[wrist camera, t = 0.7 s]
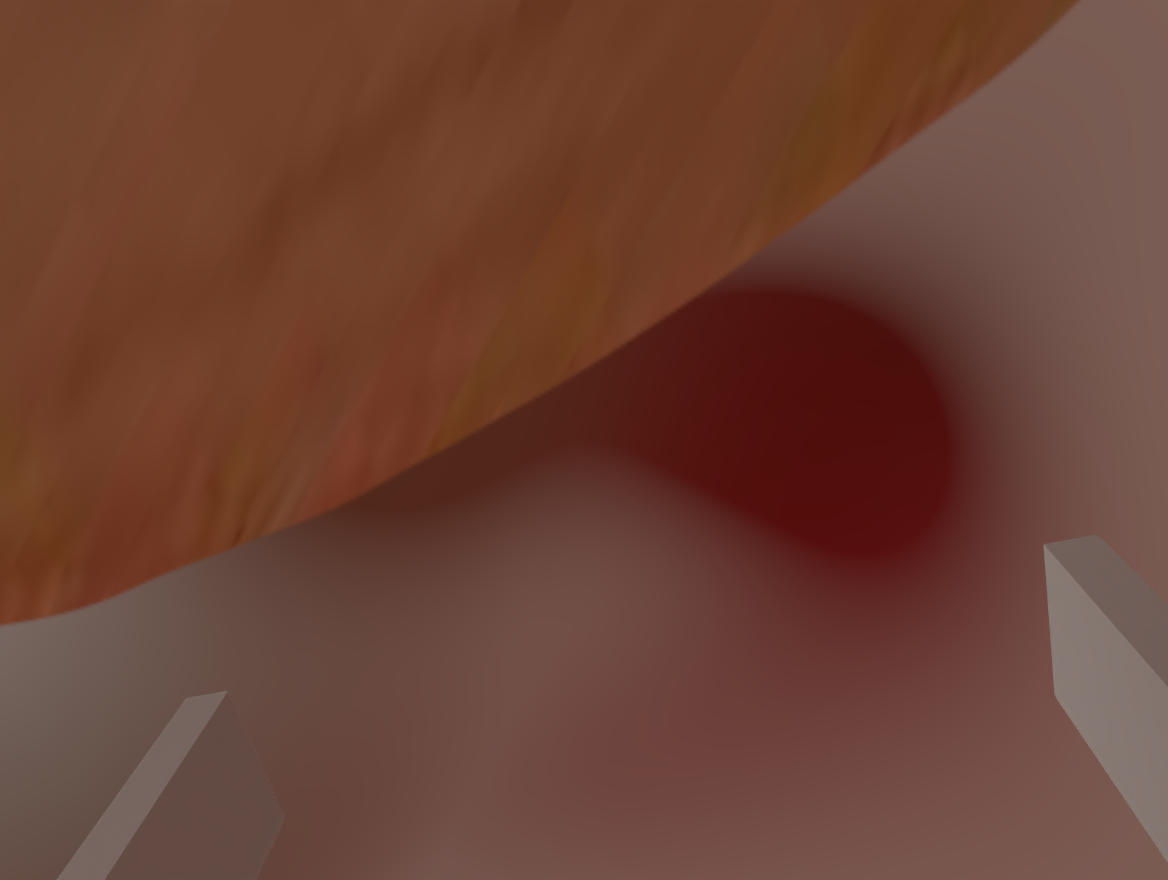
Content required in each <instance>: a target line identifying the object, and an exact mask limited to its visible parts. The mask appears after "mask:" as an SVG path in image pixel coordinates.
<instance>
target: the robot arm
mask: <svg viewBox="0 0 1168 880" xmlns="http://www.w3.org/2000/svg"><path fill="white" fill-rule="evenodd" d="M1044 556H1045V568H1046V582H1047V596H1048V609H1049V623H1050V636H1051V649H1052V650H1051V651H1052V664H1053V678H1054V691H1055V697H1056V698H1057V699H1058V701H1059V703H1060V704H1061V705H1062V707H1063V708H1064V710H1065V711H1066V713H1067V714H1068V716H1069V717H1070V719H1071V720H1072V722H1073V723H1074V725H1075V726H1076V728H1077V729H1078V731H1079V732H1080V734H1081V735H1082V736H1083V738H1084V740H1085V741H1086V742H1087V744H1088V745H1089V747H1090V748H1091V750H1092V751H1093V753H1094V754H1095V756H1096V757H1097V759H1098V760H1099V761H1100V763H1101V765H1102V766H1103V767H1104V769H1105V771H1106V772H1107V773H1108V775H1109V776H1110V778H1111V779H1112V781H1113V782H1114V784H1115V785H1116V787H1117V788H1118V790H1119V791H1120V793H1121V794H1122V795H1123V797H1124V799H1125V800H1126V802H1127V803H1128V804H1129V806H1130V807H1131V809H1132V810H1133V812H1134V813H1135V815H1136V816H1137V818H1138V819H1139V821H1140V822H1141V824H1142V825H1143V826H1144V828H1145V829H1146V831H1147V833H1148V834H1149V836H1150V837H1151V838H1152V840H1153V841H1154V843H1155V844H1156V846H1157V847H1158V849H1159V850H1160V852H1161V853H1162V855H1163V856H1164V858H1165V859H1166V861H1167V862H1168V605H1167V603H1166V602H1165V601H1164V600H1163V599H1162V598H1161V597H1160V596H1159V595H1158V594H1157V593H1156V592H1155V591H1154V590H1152V588H1151V587H1150V586H1149V585H1148V584H1147V583H1146V582H1145V581H1144V580H1143V579H1142V578H1140V577H1139V575H1138V574H1136V573H1135V572H1134V571H1133V570H1132V569H1131V568H1130V567H1129V566H1128V565H1127V564H1126V563H1125V562H1124V561H1123V560H1122V559H1121V558H1120V557H1119V556H1118V555H1117V554H1116V553H1115V552H1114V551H1113V550H1112V549H1111V548H1110V547H1109V546H1108V545H1107V544H1106V543H1105V542H1104V541H1103V540H1102V539H1101V538H1100V537H1099V536H1098V535H1092V536H1087V537H1081V538H1076V539H1070V540H1065V541H1059V542H1053V543H1048V544H1044ZM284 820H285V817H284V814H283V812H282V810H281V808H280V805H279V803H278V801H277V799H276V797H275V794H274V792H273V790H272V787H271V785H270V783H269V781H268V778H267V776H266V774H265V772H264V769H263V767H262V765H261V763H260V760H259V758H258V756H257V754H256V751H255V749H254V747H253V745H252V743H251V740H250V738H249V736H248V733H247V731H246V729H245V727H244V724H243V722H242V720H241V718H240V715H239V713H238V711H237V709H236V706H235V704H234V702H233V700H232V697H231V695H230V693H229V691H223V692H218V693H213V694H207V695H201V696H195V697H190V698H186V699H185V701H184V702H183V704H182V705H181V706H180V708H179V709H178V711H177V712H176V713H175V715H174V716H173V717H172V719H171V720H170V722H169V723H168V724H167V726H166V727H165V729H164V730H163V732H162V733H161V734H160V736H159V737H158V739H157V740H156V741H155V743H154V744H153V746H152V747H151V748H150V750H149V751H148V752H147V754H146V755H145V757H144V758H143V759H142V761H141V762H140V764H139V765H138V766H137V768H136V769H135V771H134V772H133V773H132V775H131V776H130V778H129V779H128V781H127V782H126V783H125V785H124V786H123V788H122V789H121V790H120V792H119V793H118V795H117V796H116V797H115V799H114V800H113V802H112V803H111V804H110V806H109V807H108V809H107V810H106V811H105V813H104V814H103V816H102V817H101V818H100V820H99V822H98V823H97V824H96V825H95V827H94V828H93V830H92V831H91V833H90V834H89V835H88V837H87V838H86V839H85V841H84V842H83V844H82V845H81V846H80V848H79V849H78V851H77V852H76V853H75V855H74V856H73V858H72V859H71V860H70V862H69V863H68V865H67V866H66V868H65V869H64V870H63V872H62V873H61V874H60V876H59V877H58V879H57V880H257V877H258V875H259V873H260V871H261V869H262V866H263V865H264V862H265V860H266V858H267V856H268V854H269V852H270V849H271V847H272V845H273V843H274V841H275V839H276V837H277V835H278V832H279V830H280V828H281V826H282V824H283V822H284Z"/></svg>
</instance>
